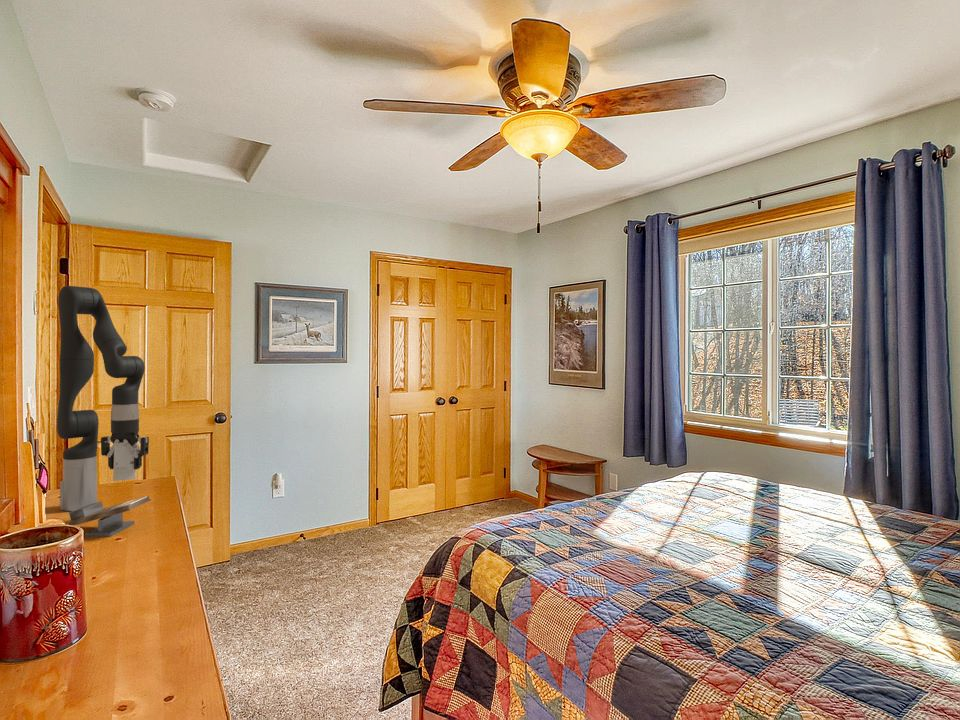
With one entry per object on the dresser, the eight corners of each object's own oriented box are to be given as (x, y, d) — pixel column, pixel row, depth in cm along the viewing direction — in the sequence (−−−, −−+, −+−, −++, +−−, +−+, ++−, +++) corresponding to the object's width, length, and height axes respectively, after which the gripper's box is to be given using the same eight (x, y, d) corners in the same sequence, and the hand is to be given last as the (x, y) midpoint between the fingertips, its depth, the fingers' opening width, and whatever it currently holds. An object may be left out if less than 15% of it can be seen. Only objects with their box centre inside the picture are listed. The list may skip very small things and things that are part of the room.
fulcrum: (85, 536, 150) (85, 521, 150) (111, 524, 161) (111, 509, 161) (110, 536, 151) (110, 520, 151) (134, 524, 162) (134, 509, 162)
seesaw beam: (68, 527, 151) (64, 514, 151) (92, 516, 161) (89, 504, 161) (129, 510, 151) (125, 497, 151) (150, 500, 161) (146, 488, 161)
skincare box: (113, 481, 165) (113, 443, 165) (113, 478, 169) (113, 441, 169) (136, 479, 169) (136, 441, 169) (136, 476, 173) (136, 439, 172)
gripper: (154, 416, 173) (154, 466, 173) (110, 416, 172) (110, 465, 172) (140, 419, 165) (140, 471, 166) (94, 419, 165) (94, 471, 165)
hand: (124, 468), depth 169 cm, fingers closed on skincare box, 7 cm apart
